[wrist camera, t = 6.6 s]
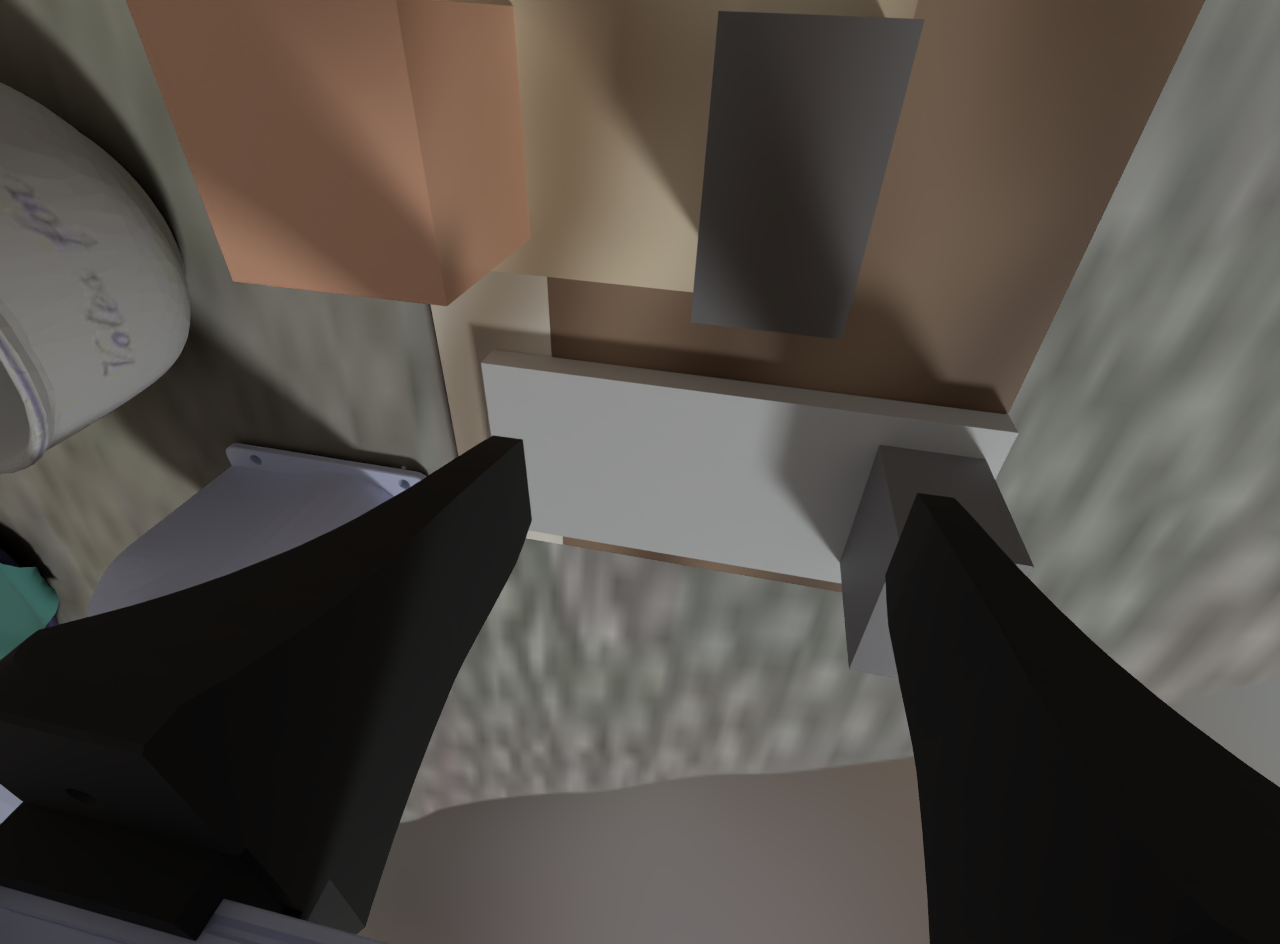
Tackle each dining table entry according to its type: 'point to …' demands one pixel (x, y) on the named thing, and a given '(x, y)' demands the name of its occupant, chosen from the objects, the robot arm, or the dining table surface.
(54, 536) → the dining table surface
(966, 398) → the lane board
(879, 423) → the grey strip
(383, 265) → the terracotta cube
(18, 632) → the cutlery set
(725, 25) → the tan shallow tray
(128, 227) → the teacup
